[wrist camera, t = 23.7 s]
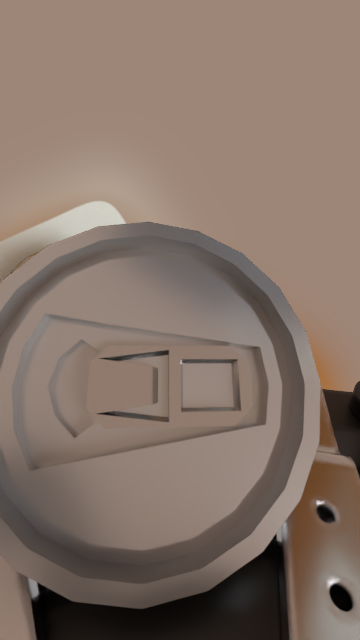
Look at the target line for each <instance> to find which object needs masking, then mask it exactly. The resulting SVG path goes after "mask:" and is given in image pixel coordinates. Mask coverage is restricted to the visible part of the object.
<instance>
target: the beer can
mask: <svg viewBox="0 0 360 640" xmlns="http://www.w3.org/2000/svg"><path fill="white" fill-rule="evenodd" d="M320 387H321V384H320V380H319V376H318V373H317V369H316V366H315V362H314V358H313V354H312V351H311V347H310V344H309V340H308V337H307V333H306V330H305V329H304V327H303V325H302V324H301V322H300V321H299V319H298V317H297V316H296V314H295V312H294V311H293V309H292V307H291V306H290V304H289V303H288V301H287V299H286V298H285V296H284V294H283V293H282V291H281V290H280V288H279V287H278V286H277V285H276V284H275V283H274V282H273V281H272V280H271V279H270V278H268V277H267V276H266V275H265V274H264V273H263V272H262V271H261V270H260V269H259V268H258V267H256V266H255V265H254V264H253V263H252V262H251V261H250V260H249V259H248V258H247V257H246V256H244V255H243V254H242V253H241V252H239V251H236V250H235V249H232V248H231V247H229V246H227V245H225V244H223V243H221V242H218V241H216V240H214V239H213V238H211V237H209V236H207V235H205V234H202V233H200V232H198V231H194V230H189V229H184V228H179V227H173V226H168V225H163V224H157V223H152V222H142V223H131V224H120V225H109V226H98V227H95V228H93V229H90V230H88V231H85V232H82V233H80V234H77V235H75V236H72V237H69V238H67V239H64V240H62V241H59V242H56V243H54V244H51V245H49V246H47V247H46V248H44V249H43V250H42V251H41V252H39V253H38V254H37V255H35V256H34V257H33V258H31V259H30V260H29V261H27V262H26V263H25V264H23V265H22V266H21V267H19V268H18V269H17V270H15V271H14V272H13V273H12V274H10V275H9V276H8V277H6V278H5V279H4V280H3V281H2V282H1V284H0V555H1V556H2V557H3V558H4V560H5V561H6V562H7V563H8V564H9V566H10V567H11V568H12V569H13V570H15V571H17V572H19V573H21V574H23V575H25V576H26V577H28V578H30V579H32V580H34V581H36V582H38V583H39V584H41V585H43V586H45V587H47V588H49V589H51V590H52V591H54V592H56V593H58V594H60V595H62V596H64V597H65V598H67V599H69V600H71V601H73V602H81V603H91V604H100V605H109V606H118V607H128V608H137V609H144V608H147V607H151V606H155V605H158V604H162V603H166V602H169V601H173V600H177V599H180V598H184V597H188V596H192V595H195V594H199V593H203V592H206V591H209V590H210V589H212V588H213V587H214V586H216V585H217V584H219V583H220V582H221V581H223V580H224V579H226V578H227V577H228V576H230V575H231V574H233V573H234V572H235V571H237V570H238V569H240V568H241V567H243V566H244V565H245V564H247V563H248V562H250V561H251V560H252V559H254V558H255V557H257V556H258V555H259V554H261V553H262V552H263V551H264V550H265V548H266V547H267V546H268V544H269V543H270V541H271V540H272V539H273V537H274V536H275V534H276V533H277V532H278V530H279V529H280V527H281V526H282V525H283V523H284V522H285V521H286V519H287V518H288V516H289V515H290V514H291V512H292V511H293V509H294V508H295V507H296V505H297V504H298V503H299V501H300V500H301V497H302V494H303V490H304V487H305V484H306V481H307V478H308V475H309V472H310V469H311V466H312V463H313V460H314V457H315V454H316V451H317V448H318V444H319V438H320Z"/></svg>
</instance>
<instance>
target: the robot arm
mask: <svg viewBox="0 0 360 640" xmlns="http://www.w3.org/2000/svg"><path fill="white" fill-rule="evenodd" d="M0 640H360V381H359V382H358V383H357V384H356V385H355V388H354V391H353V392H343V391H334V390H325V389H322V388H321V387H320V438H319V444H318V448H317V451H316V454H315V457H314V460H313V463H312V466H311V469H310V472H309V475H308V478H307V481H306V484H305V487H304V490H303V494H302V497H301V500H300V501H299V503H298V504H297V505H296V507H295V508H294V509H293V511H292V512H291V514H290V515H289V516H288V518H287V519H286V521H285V522H284V523H283V525H282V526H281V527H280V529H279V530H278V532H277V533H276V534H275V536H274V537H273V539H272V540H271V541H270V543H269V544H268V546H267V547H266V548H265V550H264V551H263V552H262V553H261V554H259V555H258V556H257V557H255V558H254V559H252V560H251V561H250V562H248V563H247V564H245V565H244V566H243V567H241V568H240V569H238V570H237V571H235V572H234V573H233V574H231V575H230V576H228V577H227V578H226V579H224V580H223V581H221V582H220V583H219V584H217V585H216V586H214V587H213V588H212V589H210V590H209V591H206V592H203V593H199V594H195V595H192V596H188V597H184V598H180V599H177V600H173V601H169V602H166V603H162V604H158V605H155V606H151V607H147V608H144V609H137V608H128V607H118V606H109V605H100V604H91V603H81V602H73V601H71V600H69V599H67V598H65V597H64V596H62V595H60V594H58V593H56V592H54V591H52V590H51V589H49V588H47V587H45V586H43V585H41V584H39V583H38V582H36V581H34V580H32V579H30V578H28V577H26V576H25V575H23V574H21V573H19V572H17V571H15V570H13V569H12V568H11V567H10V566H9V564H8V563H7V562H6V561H5V560H4V558H3V557H2V556H1V555H0Z"/></svg>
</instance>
